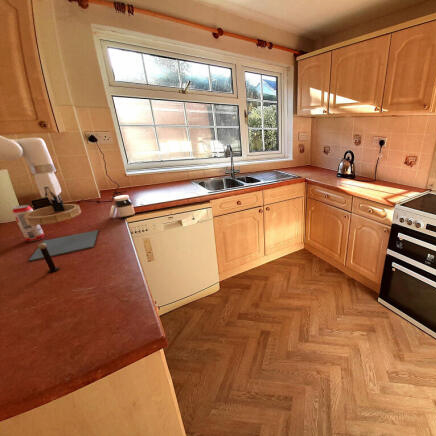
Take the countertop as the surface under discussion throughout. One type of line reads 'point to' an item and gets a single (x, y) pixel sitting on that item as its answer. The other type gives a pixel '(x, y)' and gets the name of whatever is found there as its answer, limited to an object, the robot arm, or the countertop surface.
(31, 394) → the countertop surface
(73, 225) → the countertop surface
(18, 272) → the countertop surface
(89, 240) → the mat
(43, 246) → the post stand
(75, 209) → the hoop
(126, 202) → the spread jar
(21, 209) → the beer can
